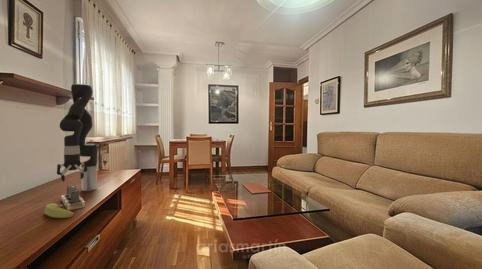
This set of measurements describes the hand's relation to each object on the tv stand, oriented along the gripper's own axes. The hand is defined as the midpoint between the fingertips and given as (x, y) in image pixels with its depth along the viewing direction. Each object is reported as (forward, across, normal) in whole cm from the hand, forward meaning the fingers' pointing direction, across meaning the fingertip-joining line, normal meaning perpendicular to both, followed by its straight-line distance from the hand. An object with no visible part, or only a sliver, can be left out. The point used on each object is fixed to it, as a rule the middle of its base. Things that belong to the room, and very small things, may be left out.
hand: (72, 180), depth 130 cm
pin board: (+14, 0, 0) cm, 14 cm away
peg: (+14, 0, 0) cm, 14 cm away
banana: (+14, -7, -13) cm, 21 cm away
